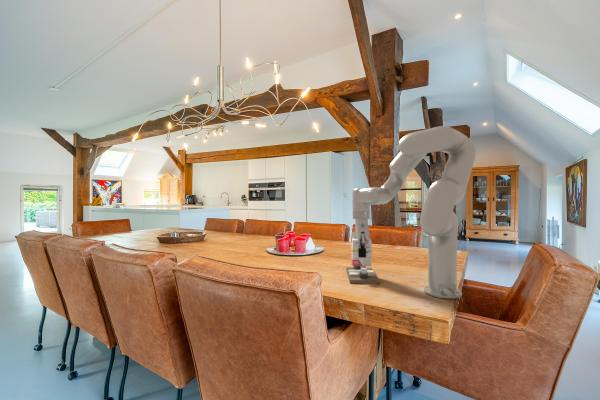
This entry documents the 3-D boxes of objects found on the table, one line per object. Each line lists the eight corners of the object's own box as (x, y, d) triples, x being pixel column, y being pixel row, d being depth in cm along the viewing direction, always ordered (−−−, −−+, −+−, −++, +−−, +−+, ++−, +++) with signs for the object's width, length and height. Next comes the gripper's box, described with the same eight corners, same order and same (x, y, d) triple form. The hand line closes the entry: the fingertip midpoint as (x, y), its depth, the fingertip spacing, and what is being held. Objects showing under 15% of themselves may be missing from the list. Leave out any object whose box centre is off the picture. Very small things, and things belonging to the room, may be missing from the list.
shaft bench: (379, 283, 120) (379, 269, 120) (350, 283, 121) (349, 269, 121) (371, 270, 141) (371, 258, 141) (346, 270, 142) (346, 258, 142)
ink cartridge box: (352, 266, 129) (352, 233, 129) (351, 263, 134) (351, 231, 134) (372, 266, 128) (371, 233, 128) (370, 263, 133) (370, 231, 133)
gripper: (372, 217, 122) (373, 260, 122) (367, 214, 139) (367, 252, 139) (354, 217, 122) (354, 260, 123) (351, 214, 139) (351, 252, 140)
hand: (361, 255), depth 131 cm, fingers closed on ink cartridge box, 5 cm apart
